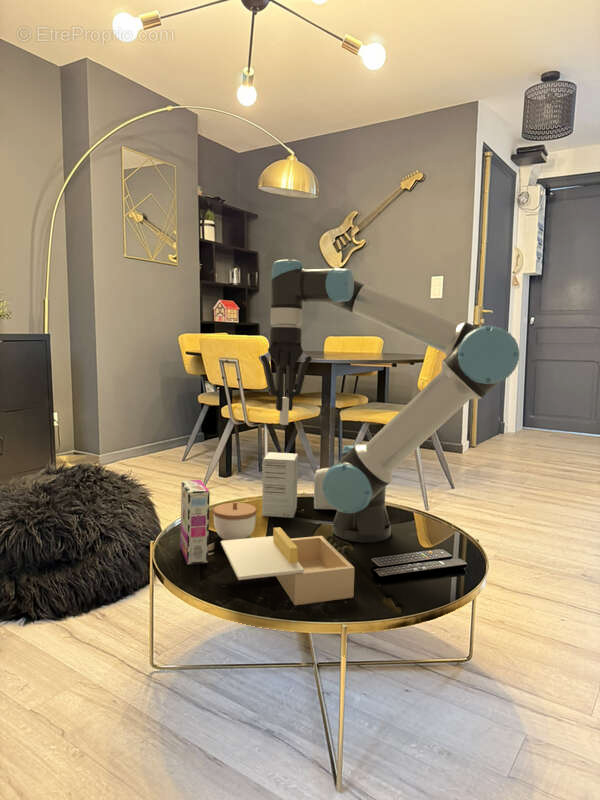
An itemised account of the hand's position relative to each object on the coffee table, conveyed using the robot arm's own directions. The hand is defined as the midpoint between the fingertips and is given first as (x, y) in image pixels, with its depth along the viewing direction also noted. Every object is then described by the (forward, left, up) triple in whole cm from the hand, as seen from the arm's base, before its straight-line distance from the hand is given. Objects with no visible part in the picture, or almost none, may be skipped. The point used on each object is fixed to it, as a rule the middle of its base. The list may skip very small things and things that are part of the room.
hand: (283, 423), depth 130 cm
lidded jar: (+11, -4, -30) cm, 32 cm away
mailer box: (+1, +24, -29) cm, 38 cm away
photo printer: (-22, -22, -30) cm, 43 cm away
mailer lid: (+12, +24, -23) cm, 35 cm away
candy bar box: (+22, +4, -30) cm, 37 cm away
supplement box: (-6, -22, -30) cm, 37 cm away
